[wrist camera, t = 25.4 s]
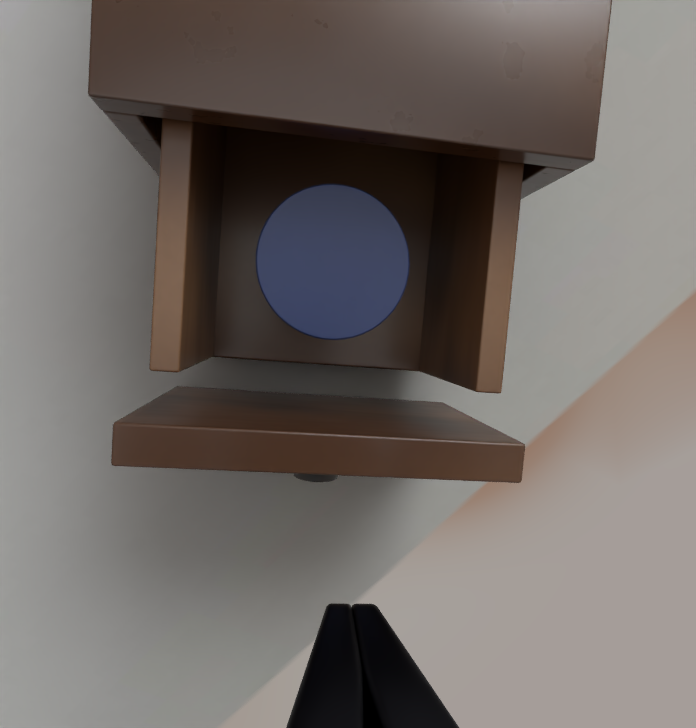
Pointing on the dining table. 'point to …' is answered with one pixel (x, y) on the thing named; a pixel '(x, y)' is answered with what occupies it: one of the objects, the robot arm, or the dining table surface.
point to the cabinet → (362, 73)
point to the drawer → (285, 344)
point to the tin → (332, 261)
